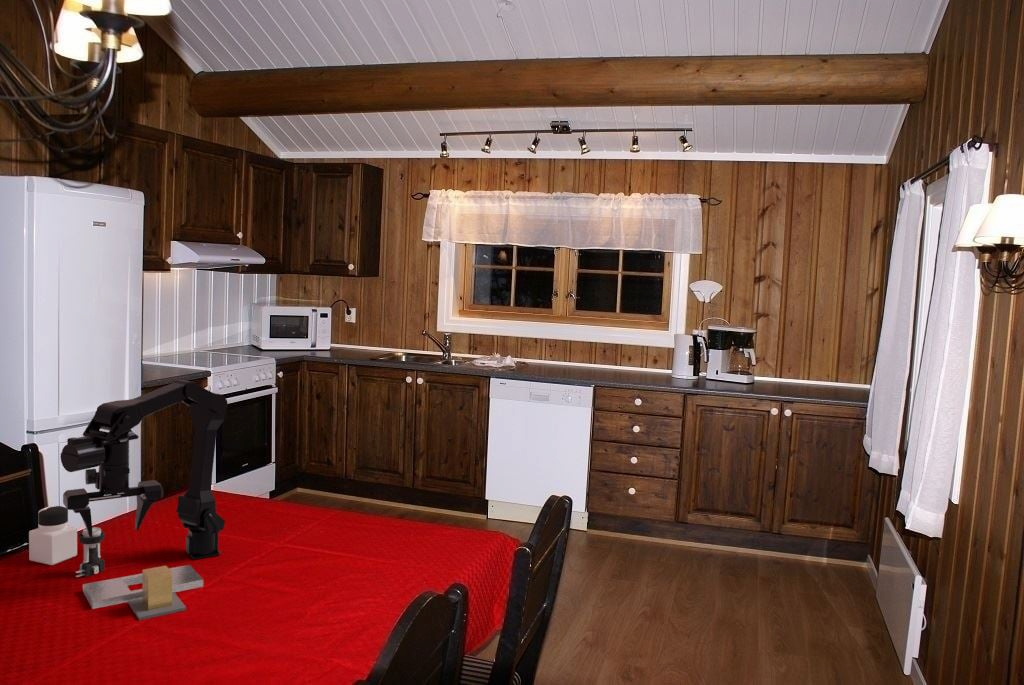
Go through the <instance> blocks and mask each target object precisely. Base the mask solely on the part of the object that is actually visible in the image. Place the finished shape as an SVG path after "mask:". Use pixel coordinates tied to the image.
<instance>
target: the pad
mask: <svg viewBox="0 0 1024 685" xmlns="http://www.w3.org/2000/svg"><path fill="white" fill-rule="evenodd" d="M127 603H128V606H130V609H131V610H132V611H133V613H134V614H135V616H136V618H137V619H138V620H139V621H143V620H147V619H152V618H157V617H161V616H165V615H169V614H174V613H179V612H183V611H187V606H186V605H185V604H184V602H182V600H181V599H180V598H179V597H178V595H177V593H176V592H172V606H168V607H163V608H159V609H154V610H149V611H148V610H147V608H146V607H145V605H144V604H143V603H142V598H141V599H136V600H131V601H128V602H127Z"/></svg>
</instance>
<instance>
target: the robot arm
mask: <svg viewBox="0 0 1024 685" xmlns="http://www.w3.org/2000/svg"><path fill="white" fill-rule="evenodd" d="M180 402H182V403H183V404H185V405H186V406H188V407H189V417H190V420H191V422H192V424H193V428H194V435H193V447H192V454H191V463H190V473H189V480H188V481H189V483H188V488H187V490H186V491H185V493H184V494H183V495H181V494H180V495H178V497H177V508H176V511H175V512H176V513H177V516H178V519H179V520H180V522H182V526H183V529H188V535H186V536H185V552H186V553H187V555H188V556H189V557H190V558H191V559H193V560H198V559H203V558H205V559H206V558H210V557H216V556H220V555H221V551H220V550H219V533H220V532H221V531H223V530H224V527H225V524H226V520H225V519H223V518H222V517H221V516H220V514H218V513H217V502H216V499H215V496H214V493H213V492H212V479H213V469H214V463H215V462H214V461H215V451H216V441H217V431H218V429H219V428H220V426H221V425H222V424H223V422H224V421H225V419H226V418H225V417H226V415H227V414H226V413H227V410H228V404H229V403H228V399H227V398H226V397H225V396H224V395H223V394H220V393H215V392H212V391H210V390H209V389H206V388H204V387H202V386H200V385H198V384H196V383H195V382H194V381H189V380H185V379H177V380H174V381H173V382H172V383H169V384H166V385H165V386H162V387H160V388H157V389H155V390H152V391H150V392H149V391H148V392H147V393H145V394H142V395H140V396H137V397H135V398H134V397H133V398H130V399H122V400H114V401H109V402H108V401H107V402H103V403H102V404H100V405H99V406H97V407H96V411H95V413H94V416H93V417H92V419H91V420H90V422H89V423H88V425H87V426H86V428H85V430H84V431H83V433H82V436H79V437H69V438H67V439H66V440H67V441H66V442H67V444H66V445H64V446H63V448H62V450H61V453H60V461H61V465H62V467H63V468H64V470H65V471H67V472H68V473H74V472H79V471H82V470H85V474H84V475H85V479H84V480H85V485H93V484H94V487H95V489H96V490H98V491H91V492H87V490H86V489H85V488H75V489H66V490H65V492H64V493H63V495H62V503H63V505H64V507H65V508H67V510H68V511H73V513H75V514H80V517H81V518H82V521H83V524H84V526H85V529H87V532H88V535H89V537H92V527H93V522H92V512H91V508H90V506H89V504H90V502H98V501H105V500H106V501H107V500H115V499H120V498H121V499H122V498H128V497H136V513H135V520H134V521H135V522H134V525H135V530H136V531H139V530H140V527H141V526H142V524H143V522H144V520H145V516H146V515H147V513H148V511H149V509H150V507H151V506H152V504H153V503H157V502H158V500H157V499H162V498H164V487H163V486H162V485H161V483H159V482H158V481H157V480H155V479H153V480H145V481H138V483H137V486H133V487H130V474H131V472H130V471H131V469H130V441H132V440H133V441H134V440H137V439H139V435H138V434H137V433H135V432H134V431H132V429H133V428H135V427H137V426H138V425H140V423H141V421H143V419H144V418H147V416H150V415H152V414H155V413H156V412H159V411H161V410H164V409H166V408H168V407H171V406H173V405H175V404H177V403H178V404H179V403H180ZM96 467H98V471H97V469H96Z"/></svg>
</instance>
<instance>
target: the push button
mask: <svg viewBox="0 0 1024 685" xmlns="http://www.w3.org/2000/svg"><path fill="white" fill-rule="evenodd" d="M105 536H106V532H105V531H103V530H102V529H101V527H97V526H94V527H93V526H92V537H89V535H88V532H87V529H86V528H84V529H83V530H82V532H80V533H79V534H77V538H78V539H79V543H81V544H82V545H83V561H82V563H80V565H79V570H78V571H75V573H77V575H75V577H76V578H79V577H89V576H93V575H96V574H97V575H98V573H100V572H102V573H103V572H104V571H105V566H106V565H105V562H106V561H105V560H106V559H103V558H101V557H102V556H101V542H103V541H104V540H105Z"/></svg>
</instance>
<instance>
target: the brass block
mask: <svg viewBox="0 0 1024 685" xmlns="http://www.w3.org/2000/svg"><path fill="white" fill-rule="evenodd" d="M169 568H170V567H168V566H167V565H162V566H155V567H150V568H146V569H142V573H143V583H142V588H141V589H142V603H143V604H144V605H145V607H146V608H147V610H148V611H149V610H154V609H159V608H163V607H168V606H172V572H171V571H170V570H169Z"/></svg>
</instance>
